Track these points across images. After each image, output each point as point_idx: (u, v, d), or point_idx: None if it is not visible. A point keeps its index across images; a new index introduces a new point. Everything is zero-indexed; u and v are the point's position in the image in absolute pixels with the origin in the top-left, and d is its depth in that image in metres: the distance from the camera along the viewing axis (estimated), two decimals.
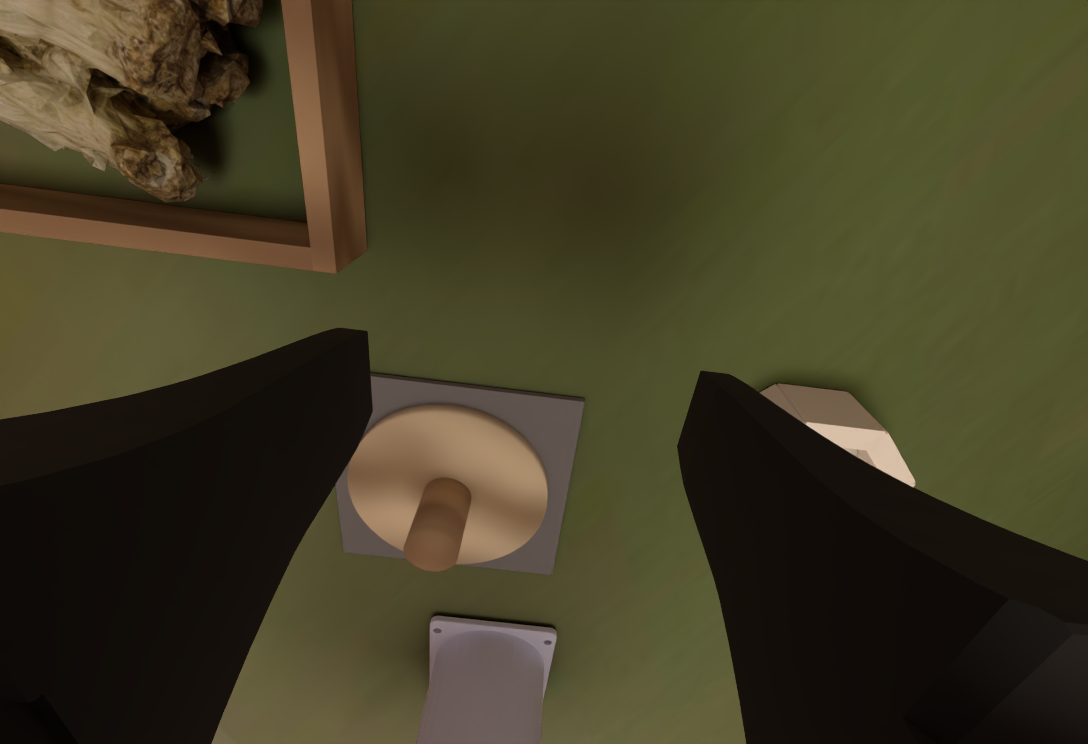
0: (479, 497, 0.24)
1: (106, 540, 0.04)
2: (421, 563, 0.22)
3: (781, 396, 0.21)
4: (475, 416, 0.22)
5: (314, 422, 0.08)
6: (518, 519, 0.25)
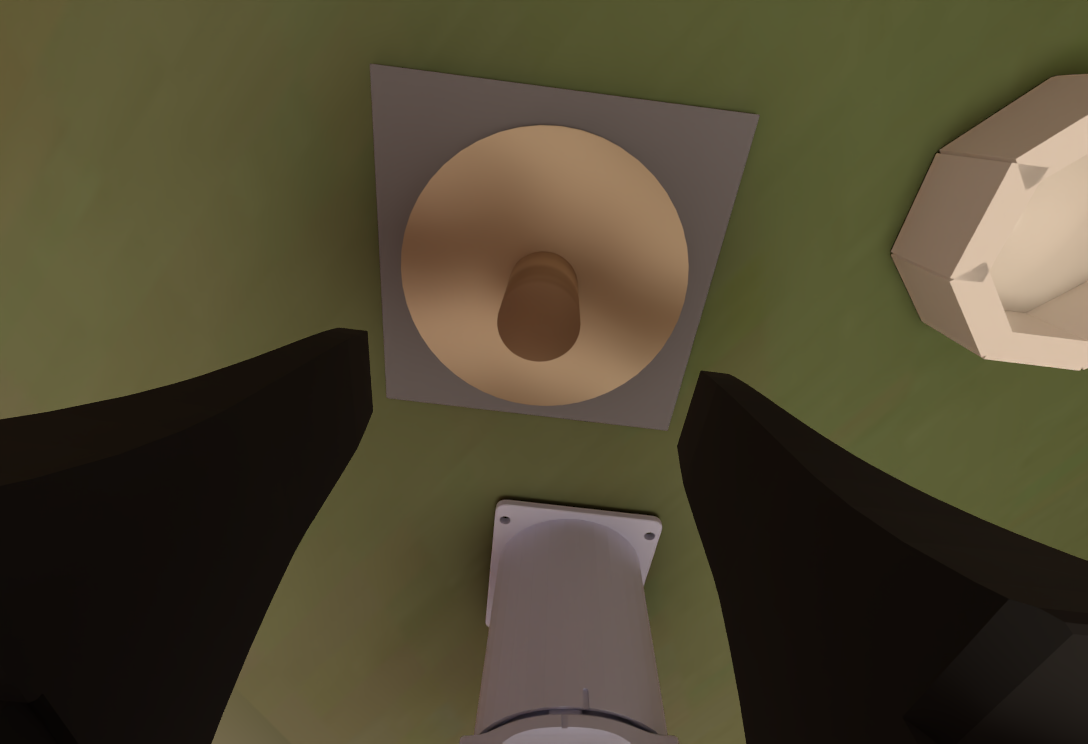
0: (588, 286, 0.17)
1: (106, 540, 0.04)
2: (522, 346, 0.14)
3: (1077, 78, 0.14)
4: (597, 136, 0.15)
5: (314, 422, 0.08)
6: (639, 324, 0.18)
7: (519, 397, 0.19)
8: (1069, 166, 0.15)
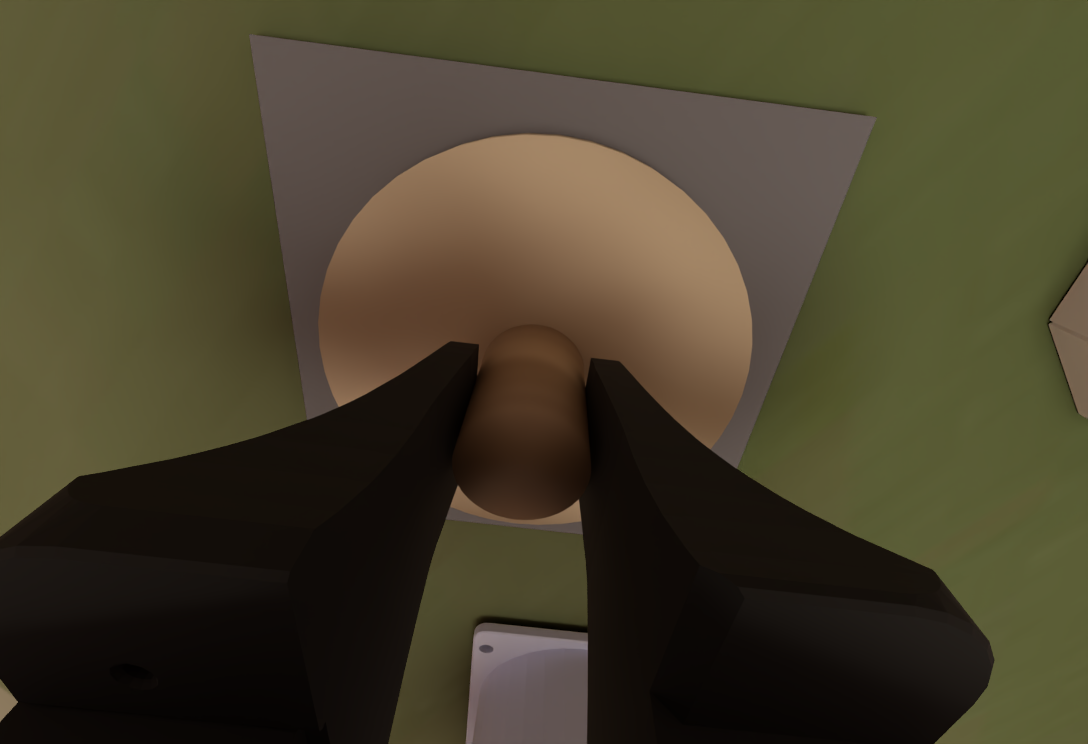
0: None
1: (360, 568, 0.04)
2: (496, 499, 0.09)
3: None
4: None
5: (449, 437, 0.08)
6: None
7: None
8: None
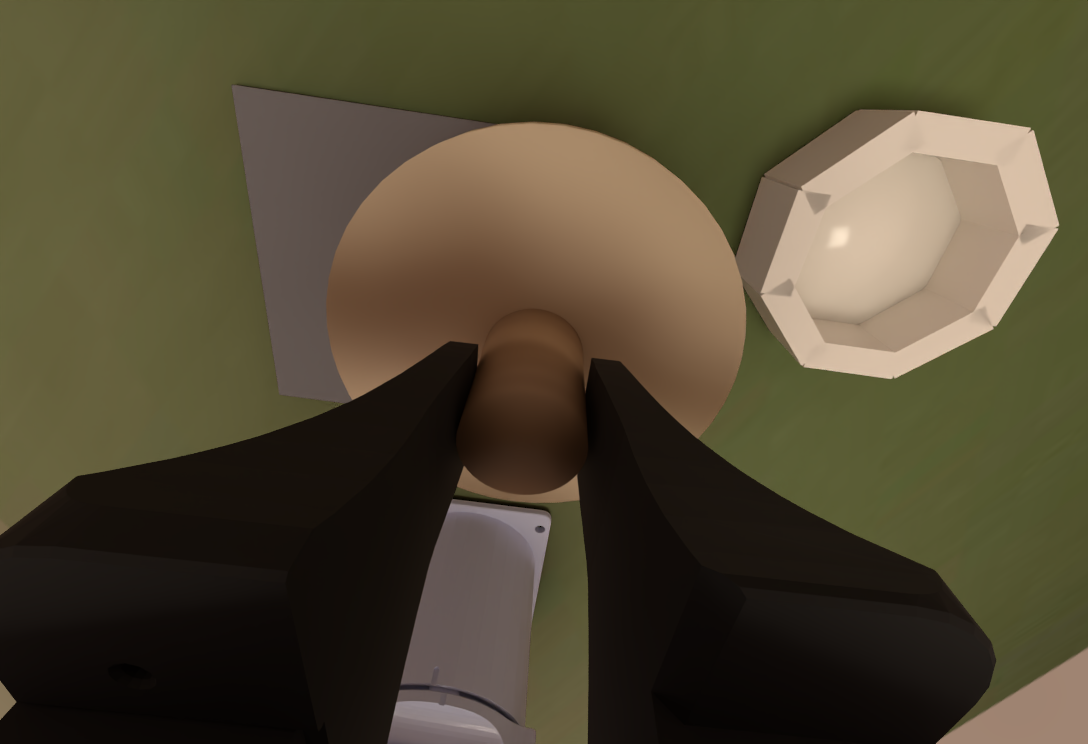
0: (599, 357, 0.12)
1: (359, 567, 0.04)
2: (496, 475, 0.09)
3: (868, 113, 0.15)
4: (619, 142, 0.10)
5: (449, 437, 0.08)
6: (669, 407, 0.12)
7: (500, 491, 0.14)
8: (877, 191, 0.16)
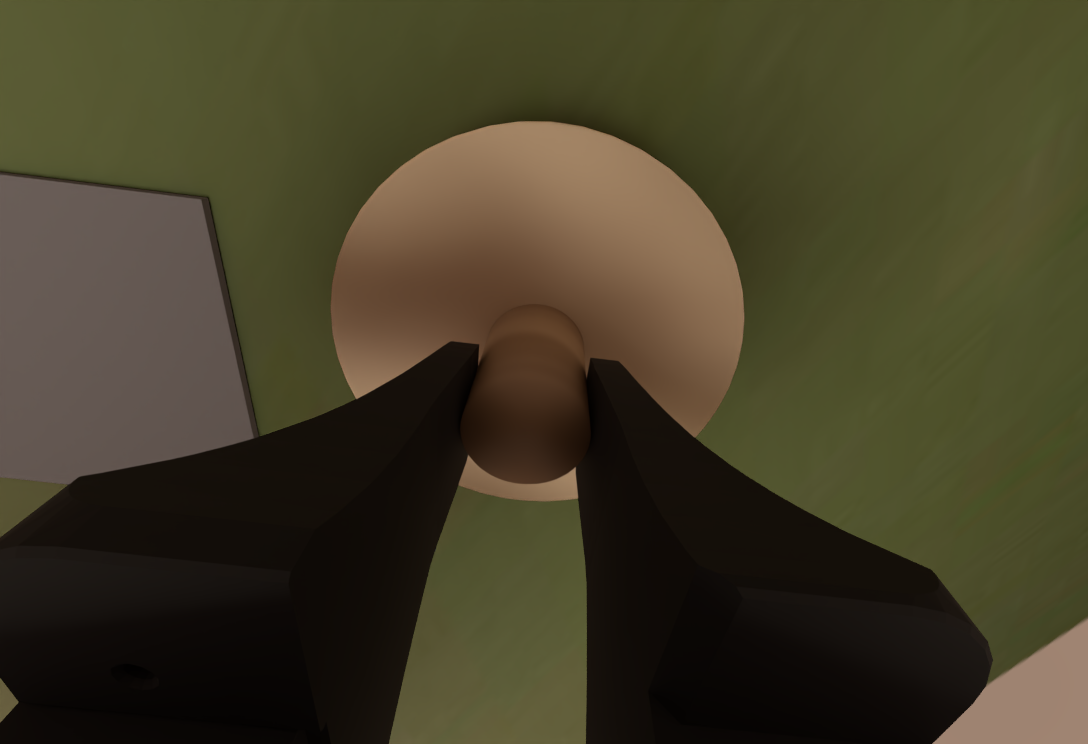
0: (599, 357, 0.12)
1: (360, 567, 0.04)
2: (497, 462, 0.09)
3: None
4: None
5: (449, 437, 0.08)
6: None
7: (490, 487, 0.14)
8: None
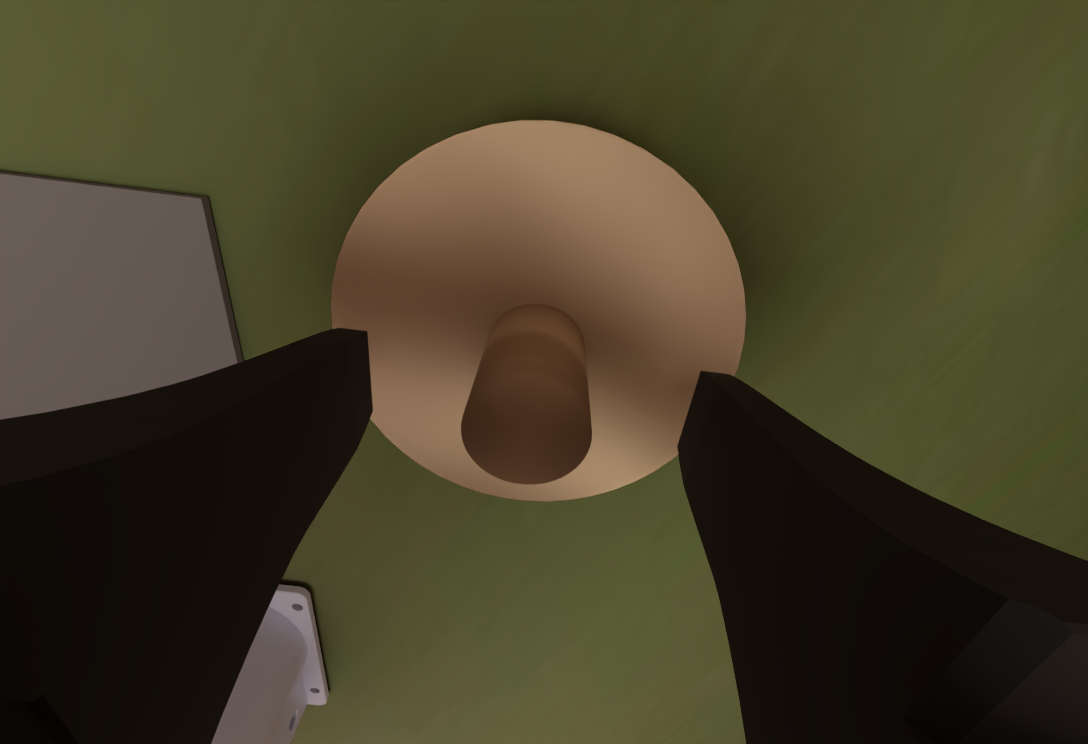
0: (600, 356, 0.12)
1: (106, 540, 0.04)
2: (498, 463, 0.09)
3: None
4: (636, 146, 0.10)
5: (315, 422, 0.08)
6: (665, 410, 0.13)
7: (490, 487, 0.14)
8: None
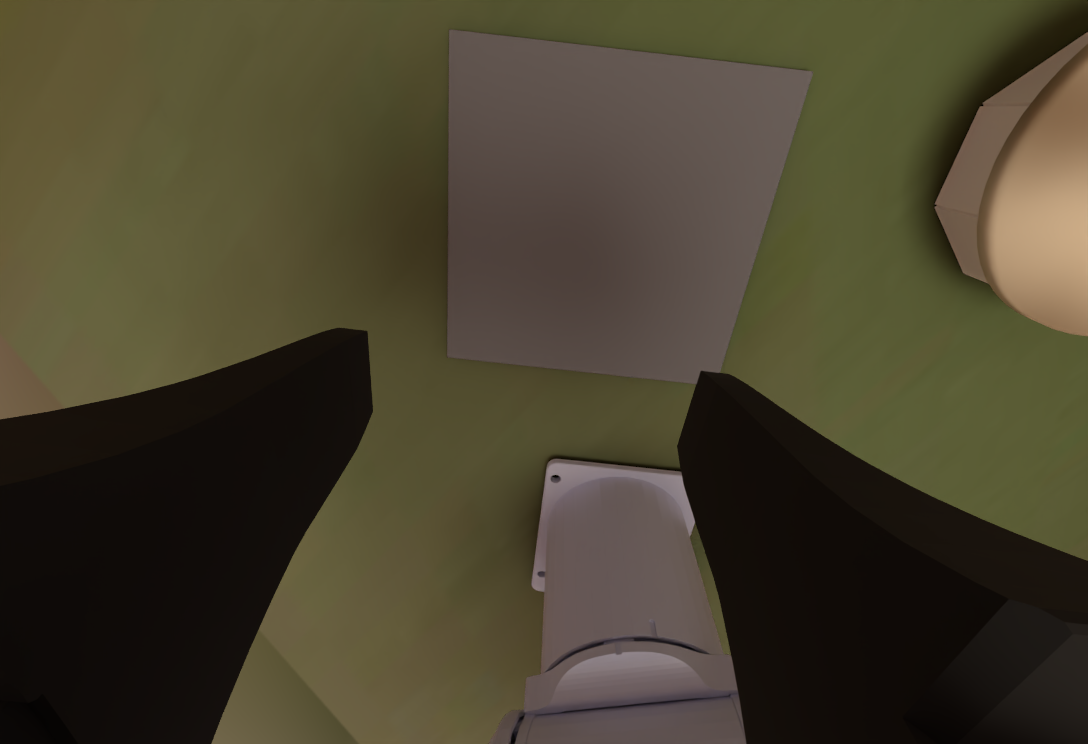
0: None
1: (106, 540, 0.04)
2: None
3: None
4: None
5: (314, 422, 0.08)
6: None
7: (1063, 323, 0.16)
8: None
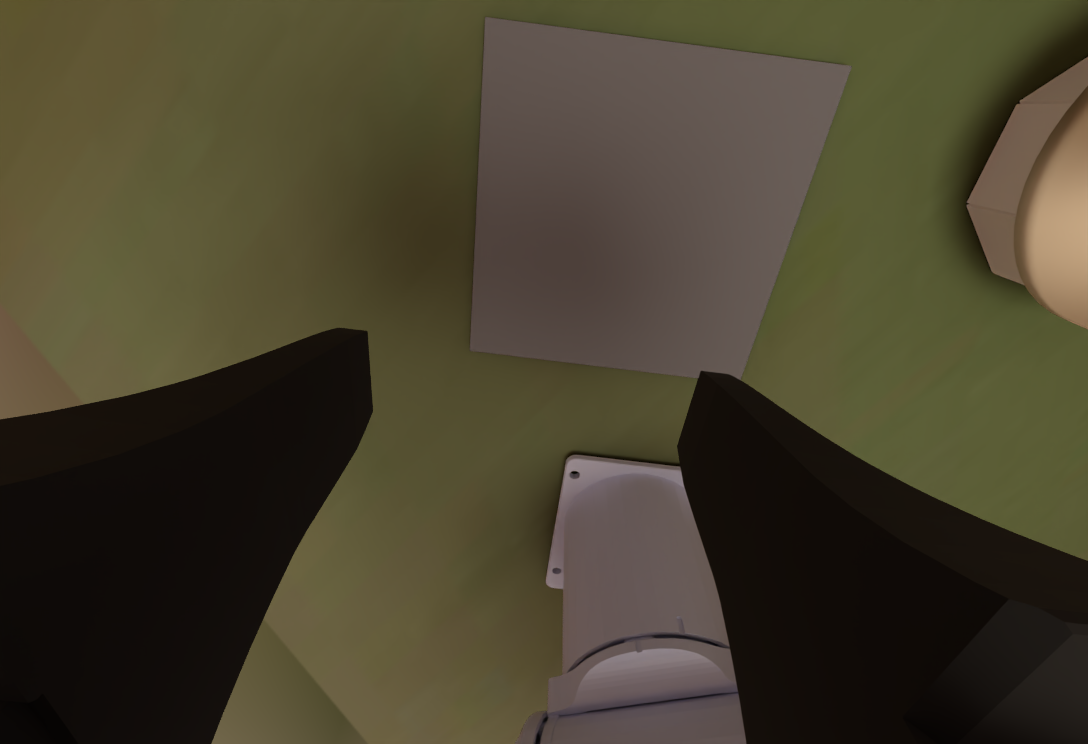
0: None
1: (106, 540, 0.04)
2: None
3: None
4: None
5: (314, 422, 0.08)
6: None
7: None
8: None
